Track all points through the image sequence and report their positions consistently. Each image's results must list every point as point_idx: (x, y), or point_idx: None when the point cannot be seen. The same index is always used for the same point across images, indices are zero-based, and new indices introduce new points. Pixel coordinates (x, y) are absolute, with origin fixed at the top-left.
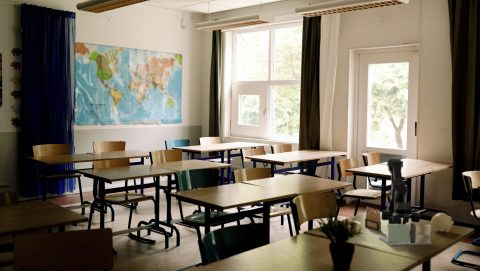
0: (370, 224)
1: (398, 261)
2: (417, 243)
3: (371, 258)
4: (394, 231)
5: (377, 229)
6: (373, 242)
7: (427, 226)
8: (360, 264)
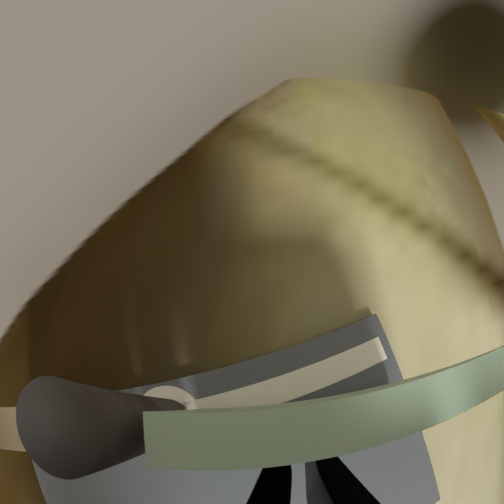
0: None
1: (317, 104)
2: None
3: (418, 130)
4: (399, 382)
5: None
6: None
7: None
8: (425, 99)
